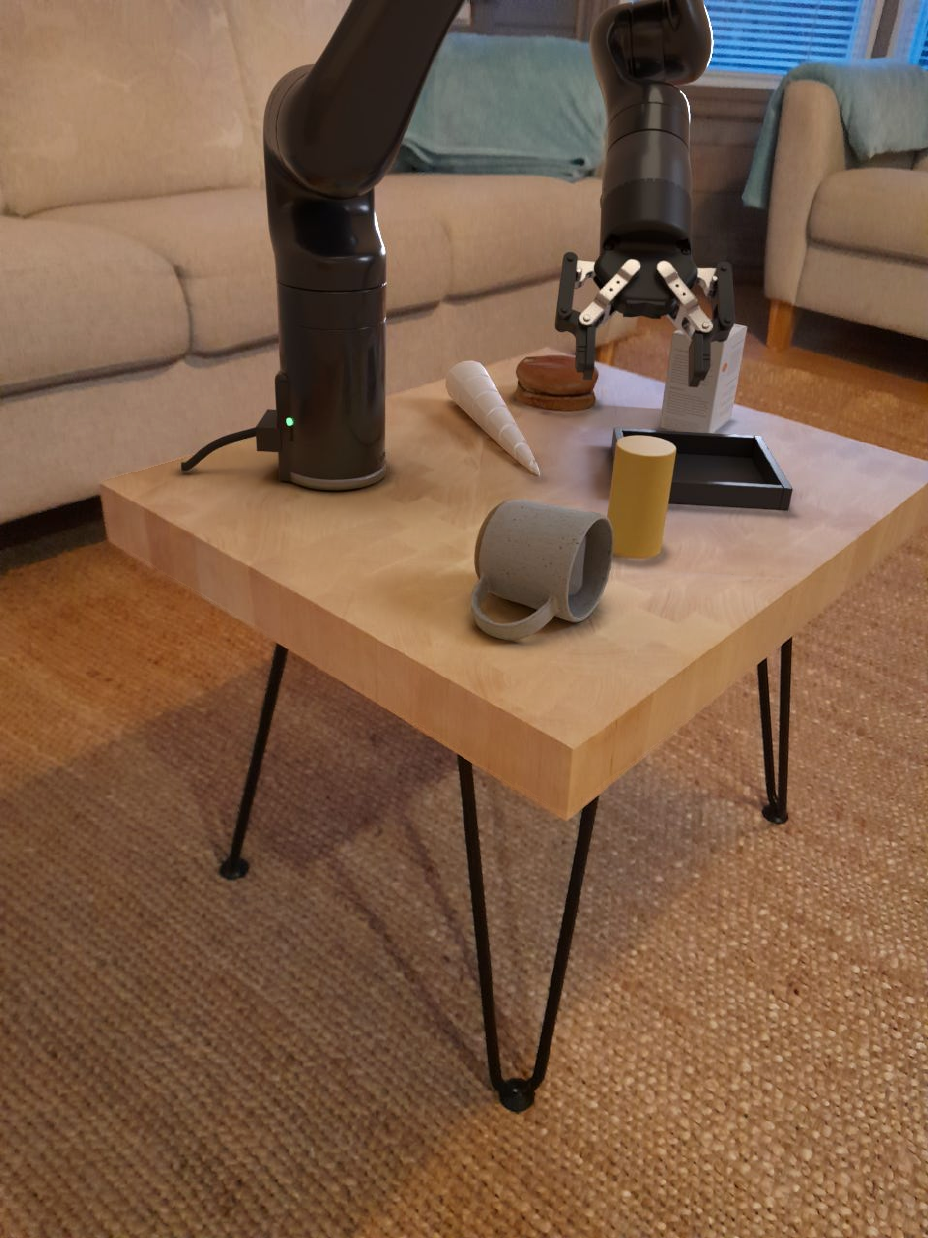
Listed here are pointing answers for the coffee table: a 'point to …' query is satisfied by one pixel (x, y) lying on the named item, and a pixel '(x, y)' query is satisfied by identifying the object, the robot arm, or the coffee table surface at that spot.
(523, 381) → the burger
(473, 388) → the unicorn horn
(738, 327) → the small box
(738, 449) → the tray
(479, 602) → the ceramic mug
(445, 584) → the coffee table surface
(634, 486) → the yellow cylinder
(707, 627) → the coffee table surface
